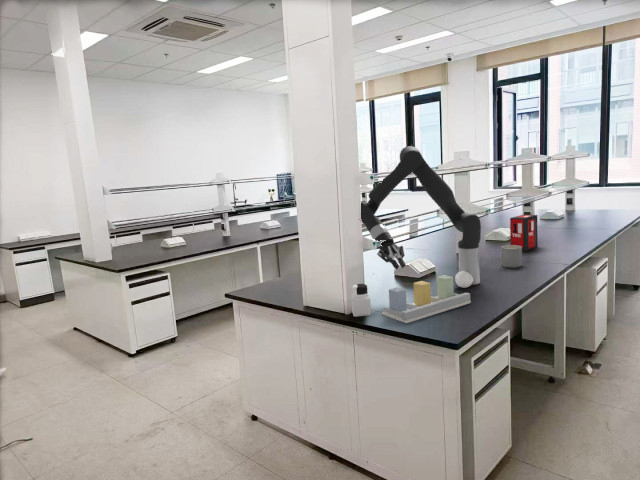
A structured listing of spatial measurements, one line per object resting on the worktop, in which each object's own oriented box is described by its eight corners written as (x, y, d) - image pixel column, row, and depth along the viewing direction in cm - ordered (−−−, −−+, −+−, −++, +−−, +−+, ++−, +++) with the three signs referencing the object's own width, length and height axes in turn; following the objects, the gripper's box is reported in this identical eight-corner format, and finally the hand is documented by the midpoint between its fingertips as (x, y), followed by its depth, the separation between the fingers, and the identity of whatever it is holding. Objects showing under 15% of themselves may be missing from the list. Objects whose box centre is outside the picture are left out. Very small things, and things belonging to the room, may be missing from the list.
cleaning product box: (524, 251, 274) (524, 218, 271) (510, 250, 281) (510, 218, 278) (537, 246, 285) (537, 215, 282) (523, 245, 292) (523, 214, 288)
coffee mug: (516, 268, 236) (516, 249, 235) (498, 266, 244) (498, 247, 242) (528, 263, 245) (528, 244, 243) (510, 261, 252) (510, 243, 251)
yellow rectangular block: (414, 304, 187) (413, 282, 185) (422, 301, 189) (421, 280, 188) (423, 306, 182) (422, 285, 181) (431, 304, 185) (430, 282, 183)
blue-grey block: (389, 311, 180) (388, 289, 179) (398, 308, 183) (397, 287, 181) (398, 314, 176) (396, 291, 175) (406, 311, 178) (405, 289, 177)
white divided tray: (382, 314, 181) (381, 304, 180) (445, 296, 198) (444, 287, 198) (406, 323, 169) (405, 313, 169) (470, 302, 187) (470, 293, 186)
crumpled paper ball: (460, 290, 205) (460, 274, 204) (451, 286, 212) (451, 270, 211) (476, 288, 207) (475, 271, 206) (466, 284, 214) (466, 268, 213)
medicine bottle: (369, 309, 188) (367, 281, 186) (371, 315, 181) (369, 286, 179) (351, 311, 188) (349, 283, 186) (353, 316, 181) (351, 287, 179)
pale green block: (437, 297, 193) (436, 276, 192) (444, 295, 195) (444, 274, 194) (446, 299, 189) (445, 278, 188) (453, 297, 191) (453, 276, 190)
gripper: (372, 233, 197) (391, 265, 188) (397, 229, 203) (417, 259, 195) (365, 244, 202) (384, 275, 193) (390, 239, 209) (409, 269, 200)
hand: (400, 267), depth 194 cm, fingers open, 3 cm apart
